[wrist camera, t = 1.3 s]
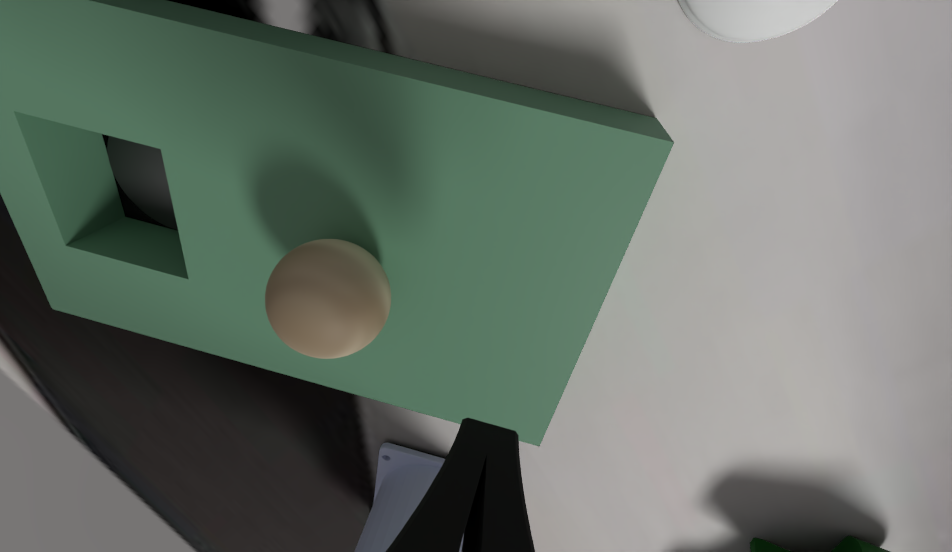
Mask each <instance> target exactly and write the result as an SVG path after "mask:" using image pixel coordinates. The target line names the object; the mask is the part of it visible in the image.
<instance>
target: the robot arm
mask: <svg viewBox="0 0 952 552" xmlns="http://www.w3.org/2000/svg"><path fill="white" fill-rule="evenodd" d="M355 552H535V549H534V545H533V540H532V536H531V530H530V525H529V520H528V515H527V509H526V504H525V498H524V491H523V484H522V477H521V468H520V458H519V435H518V434H517V432H516V431H514V430H510V429H507V428H503V427H500V426H496V425H493V424H489V423H486V422H482V421H478V420H475V419H471V418H465V419H462V422H461V426H460V429H459V431H458V434H457V436H456V439H455V441H454V443H453V445H452V447H451V450H450V452H449V454H448V455H447V457H446V459H444V458H440V457H437V456H433V455H430V454H426V453H423V452H419V451H416V450H412V449H409V448H405V447H402V446H398V445H395V444H391V443H383V444H382V445H381V447H380V450H379V457H378V466H377V475H376V484H375V493H374V502H373V506H372V509H371V511H370V514H369V516H368V519H367V521H366V524H365V527H364V529H363V532H362V534H361V537H360V539H359V542H358V544H357V547H356V549H355Z"/></svg>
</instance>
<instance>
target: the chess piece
mask: <svg viewBox="0 0 952 552" xmlns="http://www.w3.org/2000/svg"><path fill="white" fill-rule="evenodd" d="M837 1H838V0H678V2H679V4H680V6H681V8H682V10H683V11H684V13H685V14H686V16H687V17H688V18H689V20H690V21H691V22H692V23H693V24H694V25H695V26H696V27H697V28H699V29H700V30H701V31H703V32H704V33H706V34H708V35H710V36H712V37H714V38H717V39H720V40H723V41H728V42H735V43H750V42H758V41H763V40H767V39H772V38H776V37H779V36H782V35H785V34H788V33H790V32H792V31H795V30H797V29H799V28H801V27H803V26H805V25H806V24H808V23H810V22H811V21H813V20H814V19H816V18H817V17H819V16H820V15H822V14H823V13H824V12H826V11H827V10H828V9H829V8H830V7H832V6H833V5H834V4H835V3H836V2H837Z"/></svg>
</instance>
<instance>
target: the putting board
mask: <svg viewBox="0 0 952 552" xmlns="http://www.w3.org/2000/svg"><path fill="white" fill-rule="evenodd" d="M102 134H104V135H108V136H109V138H108V145H107V150H106V147H105V143H104V140H103V136H102ZM673 144H674V142H673V140H672V139H671V138H670V136H669V135H668V133H667V132H666V131H665V129H664V128H663V126H662V125H661V124H660V122H659V121H658V120H657V118H653V117H649V116H645V115H641V114H637V113H633V112H629V111H624V110H620V109H616V108H612V107H608V106H604V105H599V104H595V103H591V102H587V101H583V100H579V99H575V98H570V97H566V96H562V95H558V94H554V93H550V92H545V91H541V90H537V89H533V88H529V87H525V86H521V85H516V84H512V83H508V82H504V81H500V80H496V79H491V78H487V77H483V76H479V75H475V74H471V73H467V72H462V71H458V70H454V69H450V68H446V67H442V66H438V65H433V64H429V63H425V62H421V61H417V60H413V59H408V58H404V57H400V56H396V55H392V54H388V53H384V52H379V51H375V50H371V49H367V48H363V47H359V46H354V45H350V44H346V43H342V42H338V41H334V40H330V39H325V38H321V37H317V36H313V35H309V34H305V33H300V32H296V31H292V30H288V29H284V28H280V27H276V26H271V25H267V24H263V23H259V22H255V21H251V20H246V19H242V18H238V17H234V16H230V15H226V14H222V13H217V12H213V11H209V10H205V9H201V8H197V7H193V6H188V5H184V4H180V3H176V2H172V1H168V0H0V193H1V196H2V198H3V200H4V202H5V205H6V207H7V209H8V211H9V214H10V216H11V218H12V220H13V222H14V225H15V227H16V229H17V231H18V234H19V236H20V238H21V240H22V243H23V245H24V247H25V249H26V252H27V254H28V256H29V258H30V261H31V263H32V265H33V267H34V269H35V272H36V274H37V276H38V278H39V281H40V283H41V285H42V287H43V290H44V292H45V294H46V296H47V299H48V301H49V303H50V305H51V308H52V309H55V310H58V311H62V312H65V313H69V314H72V315H76V316H79V317H83V318H86V319H90V320H94V321H97V322H101V323H104V324H108V325H111V326H115V327H118V328H122V329H125V330H129V331H133V332H136V333H140V334H143V335H147V336H150V337H154V338H157V339H161V340H164V341H168V342H171V343H175V344H179V345H182V346H186V347H189V348H193V349H196V350H200V351H203V352H207V353H210V354H214V355H218V356H221V357H225V358H228V359H232V360H235V361H239V362H242V363H246V364H249V365H253V366H256V367H260V368H264V369H267V370H271V371H274V372H278V373H281V374H285V375H288V376H292V377H295V378H299V379H303V380H306V381H310V382H313V383H317V384H320V385H324V386H327V387H331V388H334V389H338V390H341V391H345V392H349V393H352V394H356V395H359V396H363V397H366V398H370V399H373V400H377V401H380V402H384V403H388V404H391V405H395V406H398V407H402V408H405V409H409V410H412V411H416V412H419V413H423V414H426V415H430V416H434V417H437V418H441V419H444V420H448V421H451V422H455V423H458V424H461V422H462V419H465V418H471V419H475V420H478V421H482V422H486V423H489V424H493V425H496V426H500V427H503V428H507V429H510V430H514V431H516V432H517V434H518V435H519V441H522V442H526V443H529V444H533V445H536V446H540V444H541V441H542V439H543V437H544V435H545V432H546V430H547V428H548V425H549V423H550V421H551V419H552V416H553V414H554V412H555V410H556V407H557V405H558V403H559V401H560V398H561V396H562V394H563V392H564V389H565V387H566V385H567V383H568V380H569V378H570V376H571V374H572V371H573V369H574V367H575V365H576V362H577V360H578V358H579V356H580V353H581V351H582V349H583V347H584V344H585V342H586V340H587V338H588V335H589V333H590V331H591V329H592V326H593V324H594V322H595V320H596V317H597V315H598V313H599V311H600V308H601V306H602V304H603V302H604V299H605V297H606V295H607V293H608V290H609V288H610V286H611V284H612V281H613V279H614V277H615V274H616V272H617V270H618V268H619V265H620V263H621V261H622V259H623V256H624V254H625V252H626V250H627V247H628V245H629V243H630V241H631V238H632V236H633V234H634V232H635V229H636V227H637V225H638V223H639V220H640V218H641V216H642V214H643V211H644V209H645V207H646V205H647V202H648V200H649V198H650V196H651V193H652V191H653V189H654V187H655V184H656V182H657V180H658V178H659V175H660V173H661V171H662V169H663V166H664V164H665V162H666V160H667V157H668V155H669V153H670V151H671V148H672V146H673ZM107 151H108V154H107ZM112 171H113V172H112ZM113 174H114V175H113ZM114 176H115V178H116V180H117V182H118V183H119V185H120V187H121V188H122V189H123V191H124V192H125V194H126V195H127V196H128V197H129V199H130V200H131V201H132V202H133V203H134V204H135V205H136V206H137V207H138V208H139V209H140V210H141V211H143V212H144V213H145V214H146V215H148V216H149V217H151V218H152V219H154V220H155V221H157V222H159V223H161V224H163V225H165V226H167V227H170V228H173V229H176V230H173V229H169V228H166V227H162V226H158V225H154V224H151V223H147V222H143V221H139V220H136V219H132V218H128V217H125V214H124V210H123V207H122V203H121V200H120V196H119V193H118V189H117V186H116V182H115V179H114ZM177 230H178V231H177ZM319 239H339V240H344V241H348V242H351V243H354V244H356V245H358V246H360V247H362V248H364V249H365V250H366V251H368V252H369V253H370V254H371V255H373V256H374V257H375V258H376V259H377V261H378V262H379V263H380V265H381V266H382V268H383V269H384V271H385V273H386V275H387V277H388V280H389V284H390V289H391V307H390V311H389V315H388V318H387V321H386V323H385V325H384V327H383V328H382V330H381V331H380V333H379V334H378V335H377V336H376V338H375V339H374V340H373V341H372V342H371V343H369V344H368V345H367V346H365V347H364V348H362V349H361V350H359V351H357V352H355V353H353V354H350V355H348V356H344V357H339V358H333V359H321V358H314V357H310V356H307V355H304V354H301V353H299V352H297V351H295V350H293V349H292V348H290V347H289V346H288V345H286V344H285V343H284V342H283V341H282V340H281V339H280V338H279V337H278V335H277V334H276V333H275V331H274V330H273V328H272V326H271V324H270V322H269V319H268V316H267V313H266V308H265V292H266V286H267V283H268V280H269V277H270V275H271V273H272V271H273V270H274V268H275V266H276V265H277V264H278V262H279V261H280V260H281V259H282V258H283V257H284V256H285V255H286V254H287V253H289V252H290V251H291V250H293V249H294V248H296V247H298V246H300V245H302V244H304V243H307V242H310V241H314V240H319Z"/></svg>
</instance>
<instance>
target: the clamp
mask: <svg viewBox="0 0 952 552" xmlns="http://www.w3.org/2000/svg"><path fill="white" fill-rule="evenodd" d="M750 549H751V552H791V551H789V550H786V549H784V548H782V547H779V546H777V545H774V544H772V543H770V542H767V541H765V540H763V539H759V538H753V539H752V541H751V542H750ZM831 552H890V551H887V550H885V549H882V548H880V547H877V546H875V545H872V544H870V543H867V542H865V541H862V540H859V539H857V538H854V537H852V536H846V537H845V538H844V539H843V540H842V541H841V542H840V543H839V544H838V545H837V546H836V547H835V548H834V549H833V550H832V551H831Z"/></svg>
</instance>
